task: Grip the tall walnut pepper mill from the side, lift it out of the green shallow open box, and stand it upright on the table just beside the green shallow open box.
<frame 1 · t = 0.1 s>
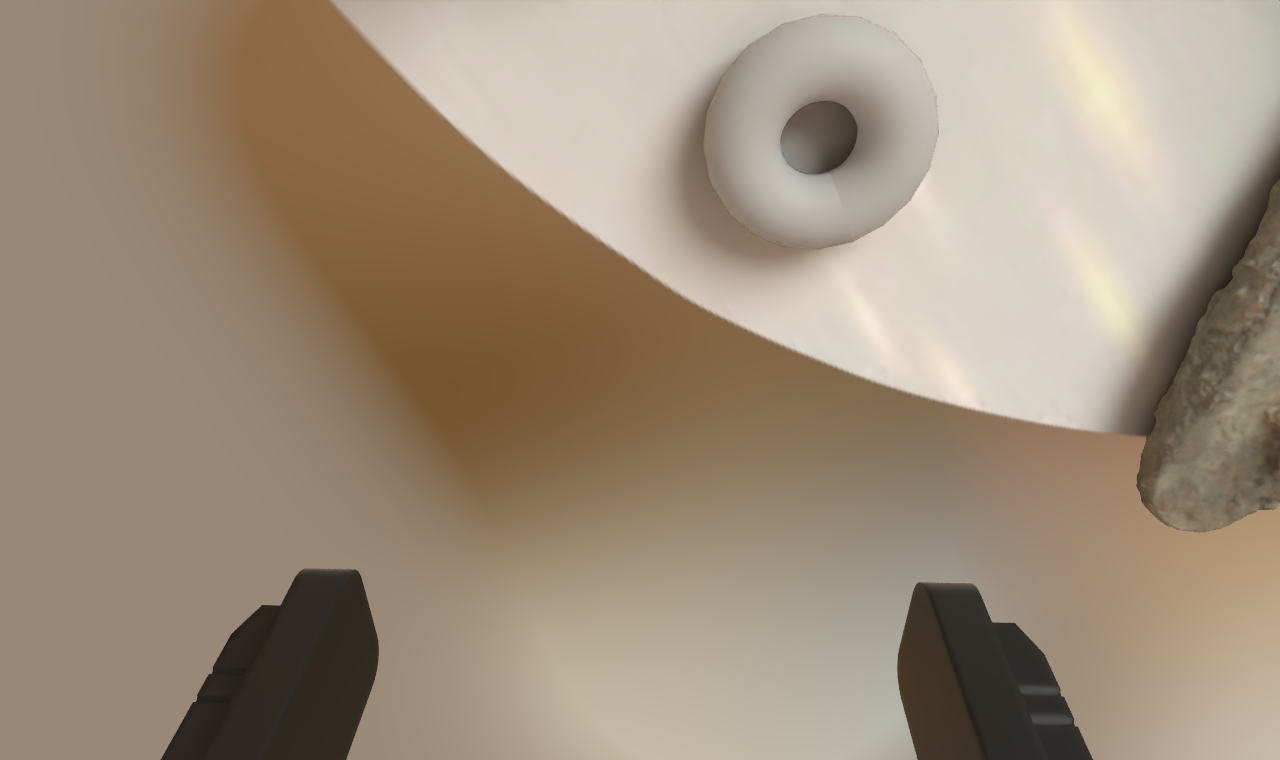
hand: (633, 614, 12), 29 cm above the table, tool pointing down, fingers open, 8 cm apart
donut: (812, 126, 37), on the table
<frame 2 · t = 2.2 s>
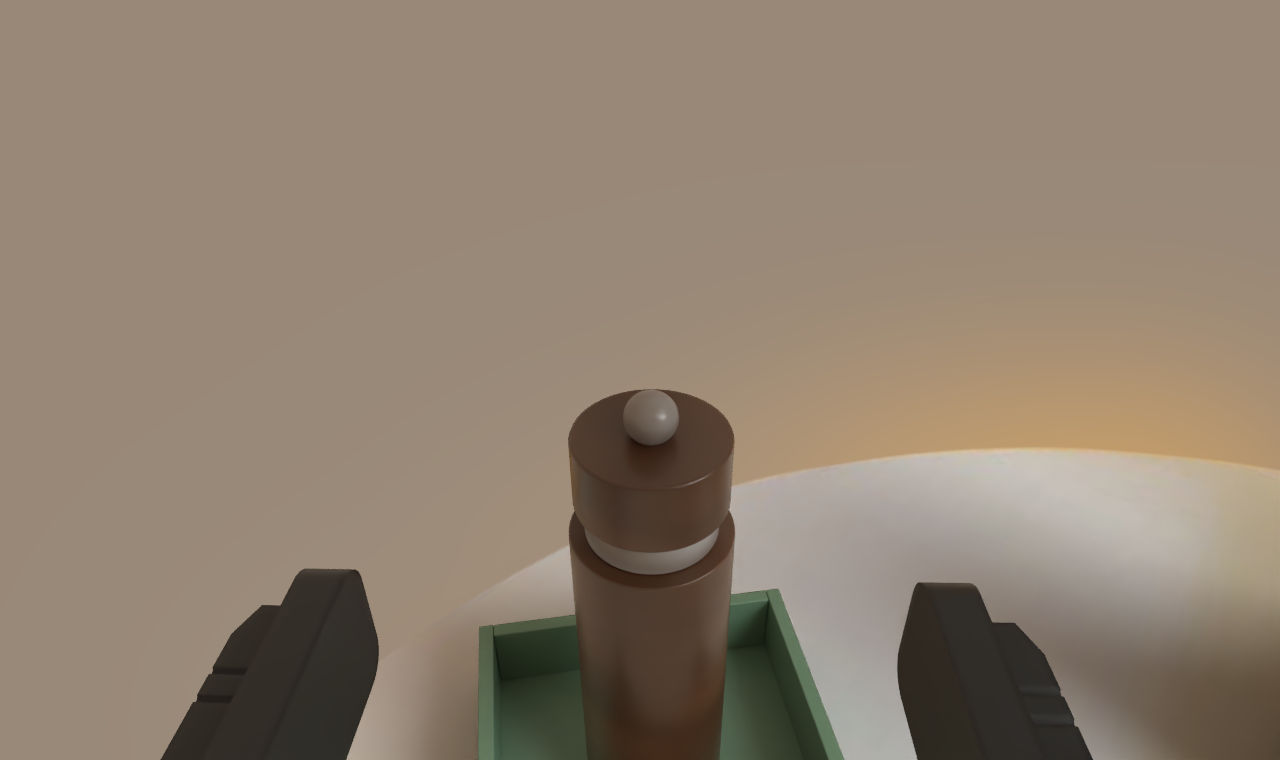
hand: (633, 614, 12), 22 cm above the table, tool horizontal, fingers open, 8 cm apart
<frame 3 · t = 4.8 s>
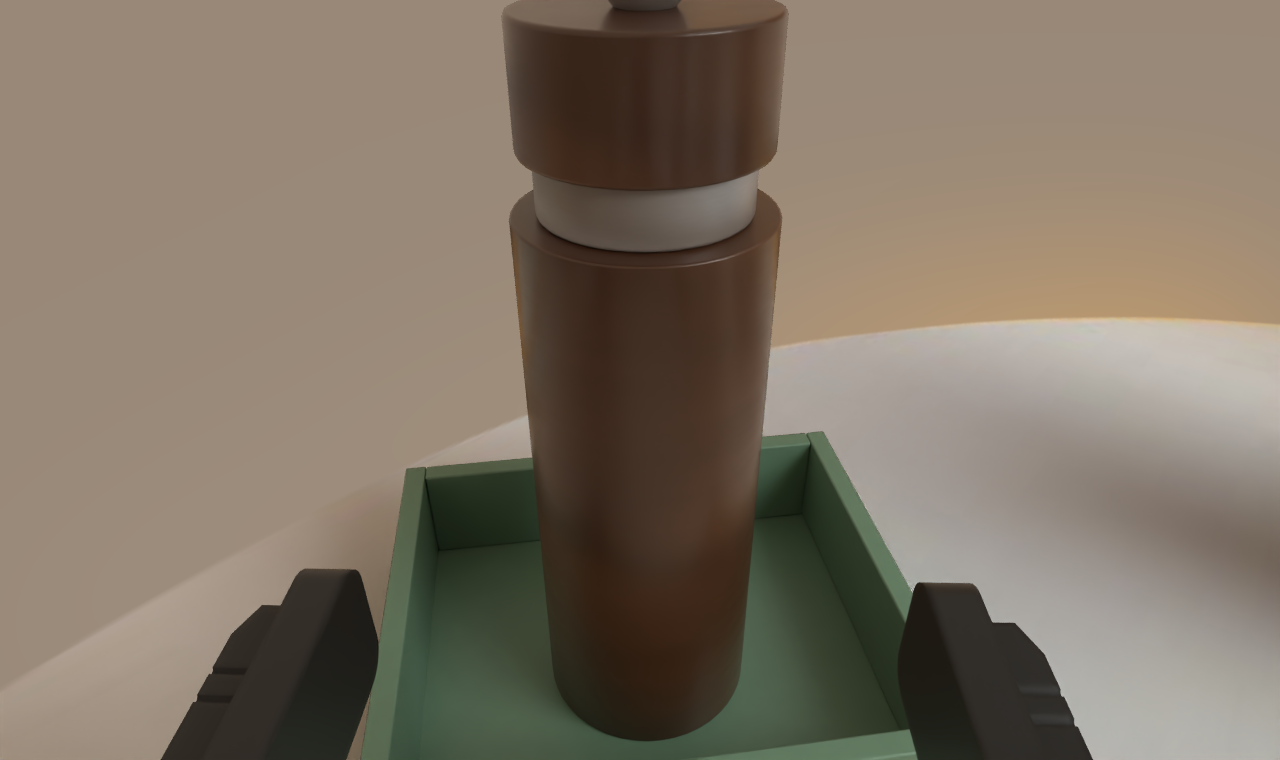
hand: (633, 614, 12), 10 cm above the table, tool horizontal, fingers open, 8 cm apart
green shallow open box: (646, 670, 23), on the table
pepper mill: (646, 656, 23), point 1 cm above the table, touching green shallow open box
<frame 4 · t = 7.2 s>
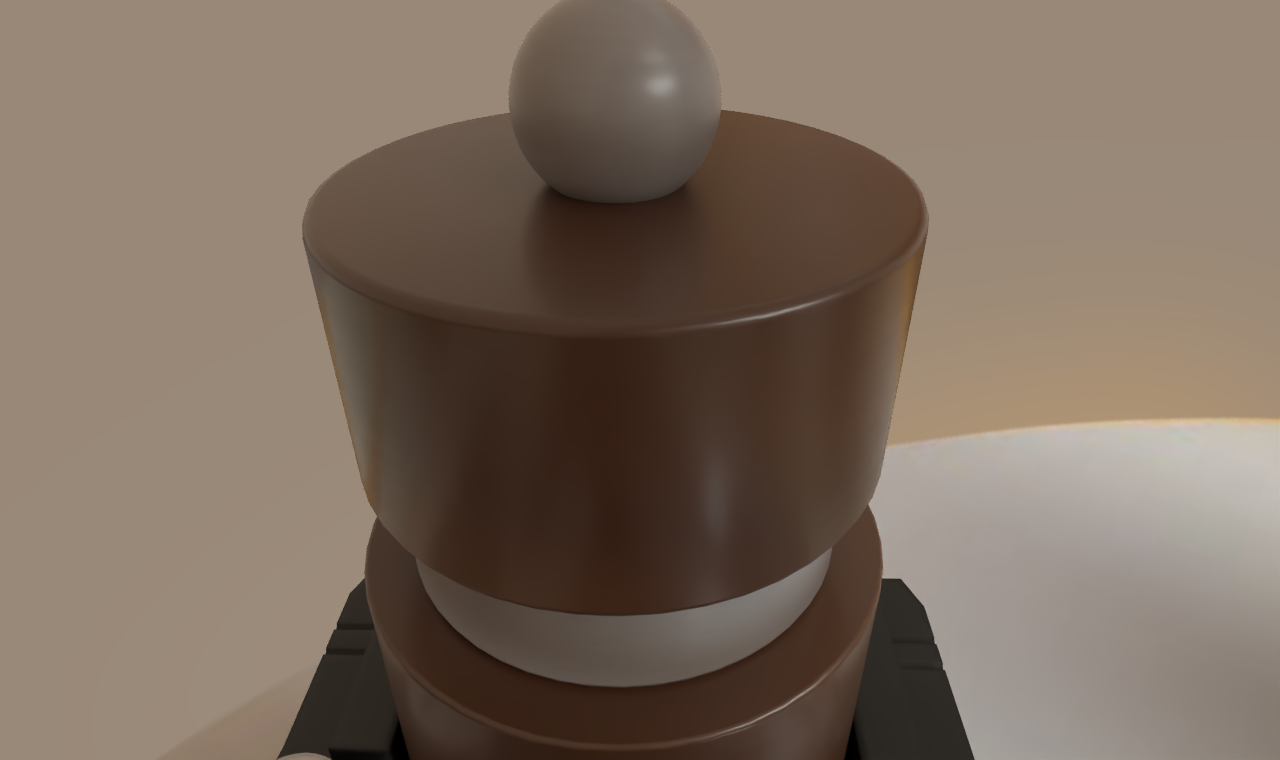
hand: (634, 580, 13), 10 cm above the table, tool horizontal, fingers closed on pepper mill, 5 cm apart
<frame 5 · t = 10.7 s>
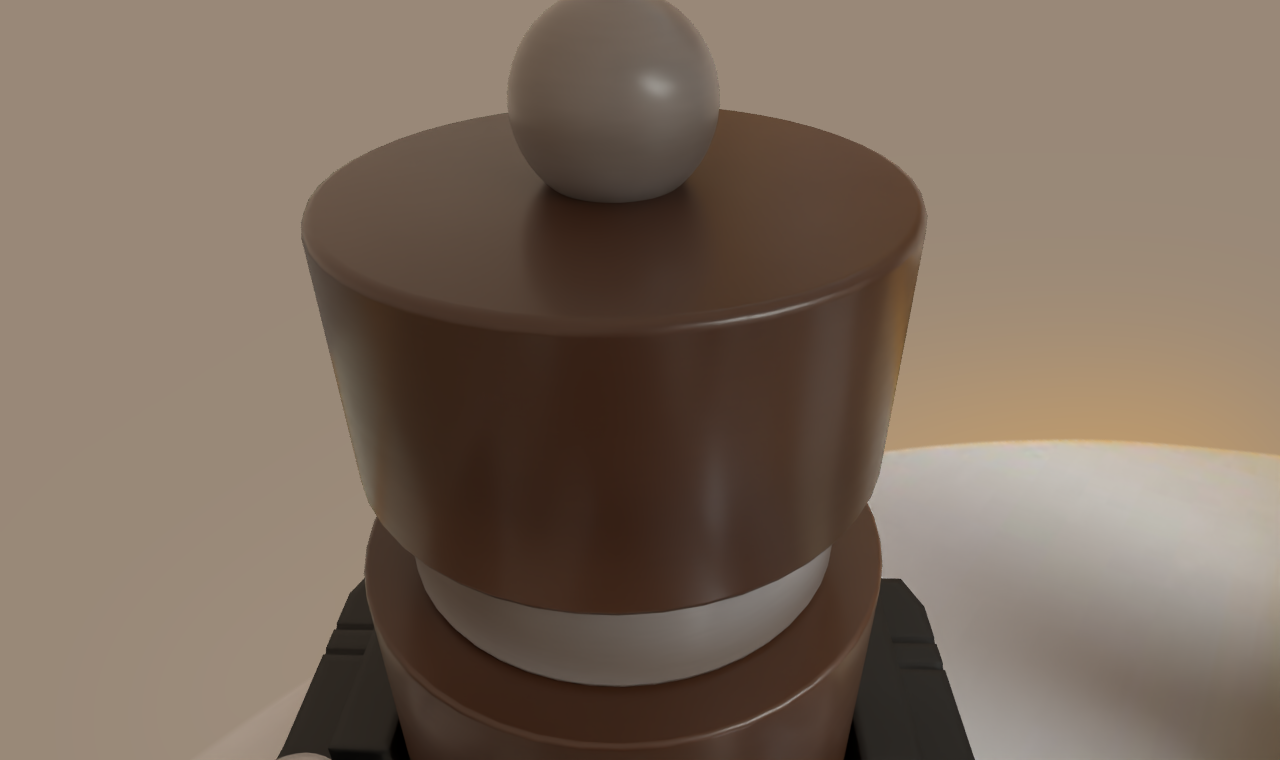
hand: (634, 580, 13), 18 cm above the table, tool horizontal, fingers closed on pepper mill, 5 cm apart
when the fingers open (9 cm above the table, at t = 14.2 s): pepper mill stays where it is, on the table.
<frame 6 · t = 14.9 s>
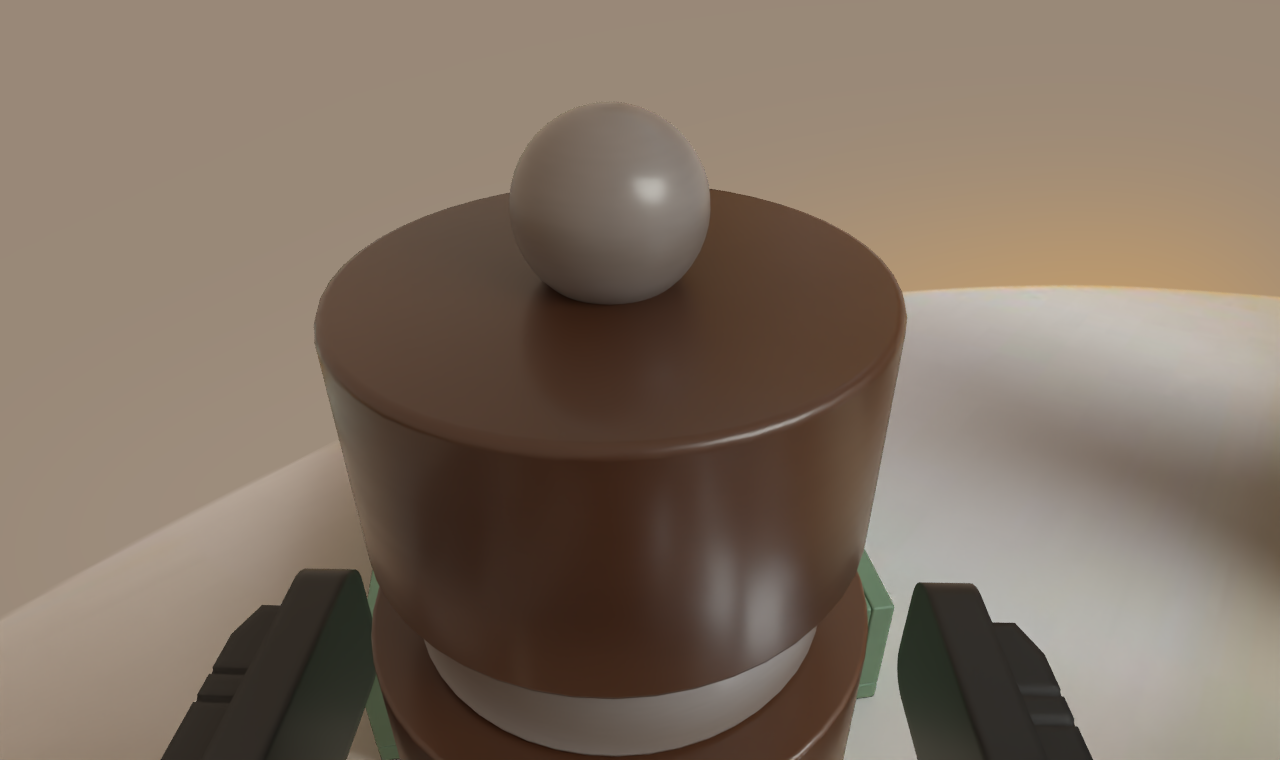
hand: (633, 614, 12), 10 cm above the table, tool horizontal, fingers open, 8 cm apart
green shallow open box: (612, 574, 27), on the table
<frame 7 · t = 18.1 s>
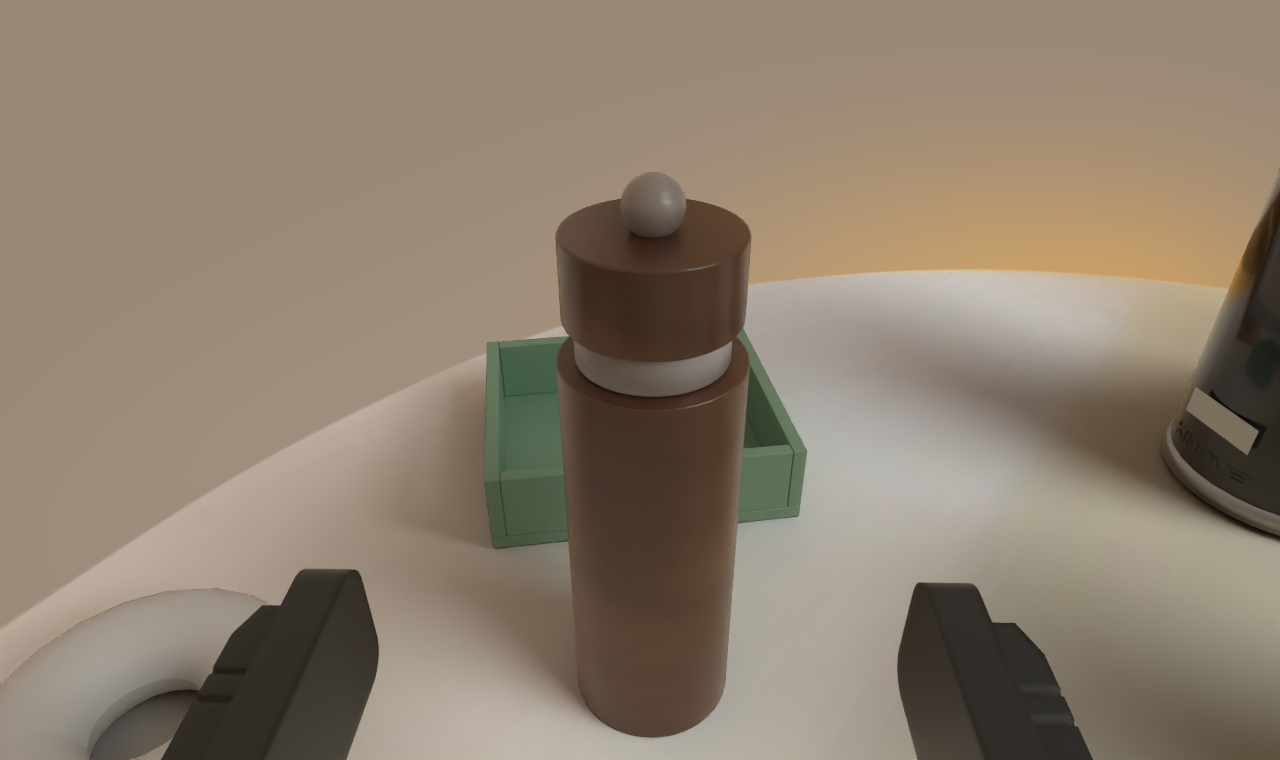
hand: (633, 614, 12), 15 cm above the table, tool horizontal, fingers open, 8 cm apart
green shallow open box: (631, 453, 40), on the table
pepper mill: (651, 671, 29), on the table
donut: (167, 759, 27), on the table
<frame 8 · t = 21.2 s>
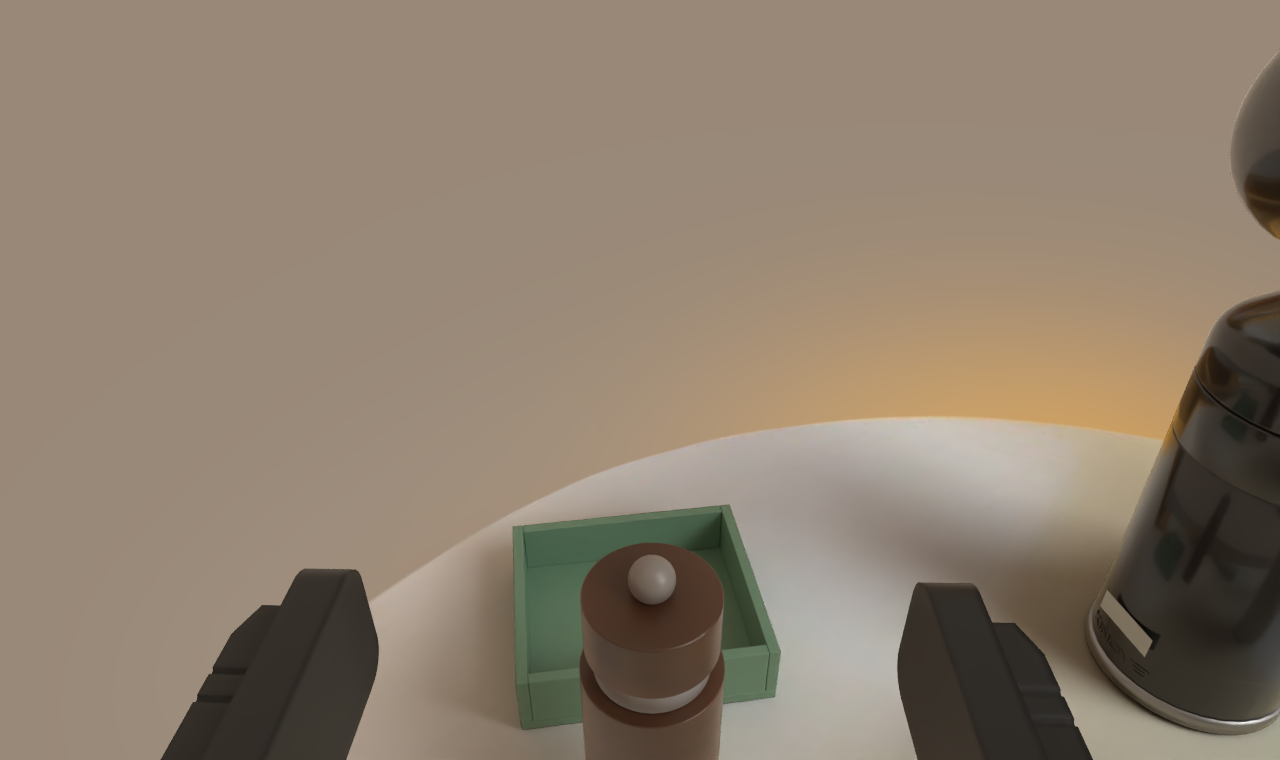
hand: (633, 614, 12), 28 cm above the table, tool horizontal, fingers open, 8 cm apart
green shallow open box: (636, 628, 47), on the table
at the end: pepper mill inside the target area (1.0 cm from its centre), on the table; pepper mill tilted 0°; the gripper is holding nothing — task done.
